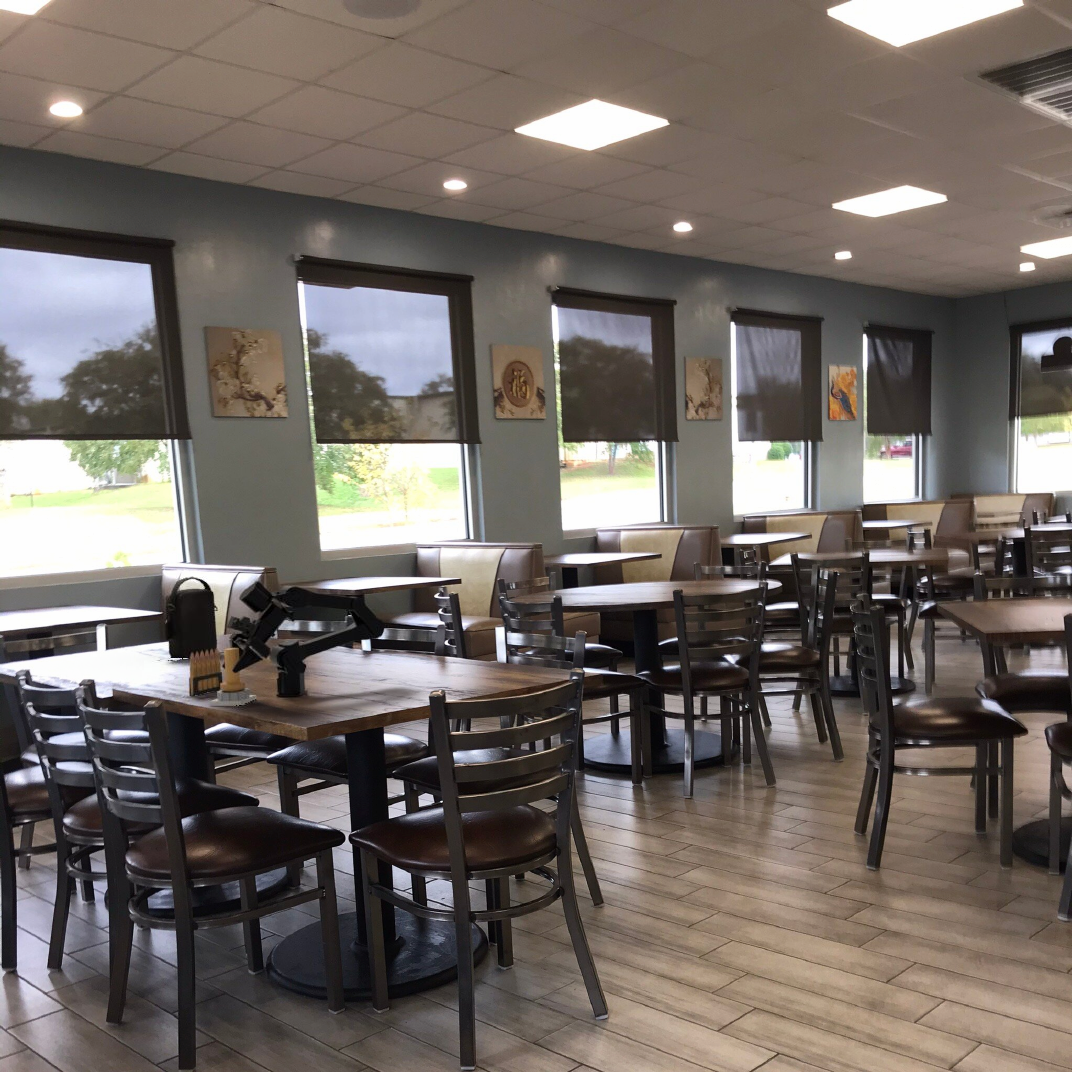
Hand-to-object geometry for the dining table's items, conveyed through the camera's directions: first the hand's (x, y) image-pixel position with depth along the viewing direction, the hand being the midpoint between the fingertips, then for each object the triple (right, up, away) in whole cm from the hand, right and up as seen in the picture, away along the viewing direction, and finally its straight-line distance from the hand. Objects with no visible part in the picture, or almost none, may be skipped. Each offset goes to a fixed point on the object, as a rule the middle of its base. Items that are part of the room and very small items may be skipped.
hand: (228, 670), depth 272 cm
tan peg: (+1, -8, +1) cm, 8 cm away
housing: (+1, -9, +1) cm, 9 cm away
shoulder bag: (-40, -7, +93) cm, 101 cm away
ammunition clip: (-11, -9, +18) cm, 23 cm away
